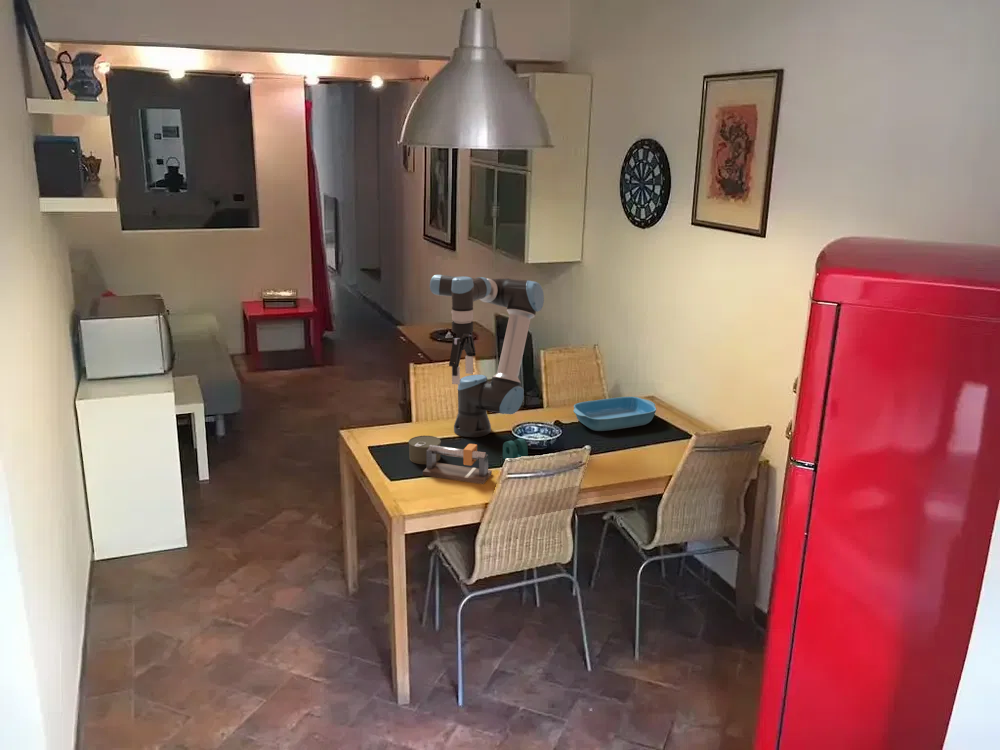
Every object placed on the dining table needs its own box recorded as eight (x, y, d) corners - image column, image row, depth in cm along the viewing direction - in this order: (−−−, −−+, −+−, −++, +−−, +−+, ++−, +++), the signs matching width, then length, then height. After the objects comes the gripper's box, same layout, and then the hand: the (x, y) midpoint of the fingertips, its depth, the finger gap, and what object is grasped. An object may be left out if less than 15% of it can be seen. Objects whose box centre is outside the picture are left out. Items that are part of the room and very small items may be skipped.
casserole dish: (587, 436, 335) (588, 420, 333) (563, 418, 355) (563, 403, 353) (665, 425, 348) (666, 409, 346) (638, 409, 368) (639, 393, 366)
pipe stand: (432, 465, 305) (432, 440, 302) (491, 474, 298) (491, 448, 295) (422, 475, 297) (422, 448, 294) (483, 484, 290) (483, 457, 287)
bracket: (502, 458, 312) (502, 439, 310) (517, 455, 316) (517, 435, 314) (529, 475, 298) (530, 455, 296) (545, 471, 301) (545, 451, 299)
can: (447, 456, 314) (447, 439, 312) (428, 467, 304) (428, 449, 302) (421, 449, 320) (421, 433, 318) (402, 460, 310) (402, 443, 308)
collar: (469, 458, 297) (469, 443, 295) (477, 459, 296) (477, 444, 295) (463, 464, 292) (463, 449, 290) (471, 465, 291) (471, 450, 289)
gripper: (465, 312, 304) (465, 368, 311) (439, 328, 282) (439, 387, 288) (484, 314, 302) (484, 370, 308) (459, 329, 280) (460, 389, 286)
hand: (462, 378), depth 298 cm, fingers open, 13 cm apart
